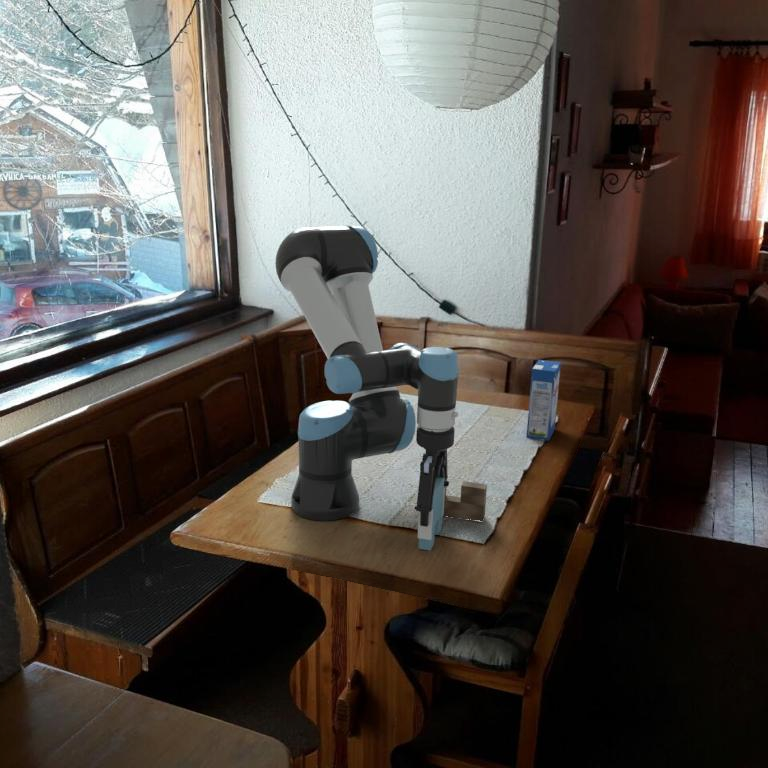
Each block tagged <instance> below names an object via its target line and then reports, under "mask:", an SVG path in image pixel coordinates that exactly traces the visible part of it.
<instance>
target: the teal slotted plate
mask: <svg viewBox="0 0 768 768" xmlns="http://www.w3.org/2000/svg"><path fill="white" fill-rule="evenodd" d="M443 493H444V478H441V477H438V478H436V484H435V490H434V496H433V503H432V509H433V520H432V539H431V540H426V539H420V538H418V549H419V550H423V551H425V550H426V551H432V548H433V546H434V544H435V535H436V536H439V535H440V532H441V530H442V528H443V527H442V524H443V517H442V511H443Z"/></svg>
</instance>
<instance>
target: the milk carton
mask: <svg viewBox="0 0 768 768" xmlns="http://www.w3.org/2000/svg"><path fill="white" fill-rule="evenodd" d="M561 366H562V362H560V361H554V360H553V361H552V360H543V359H538V360H537V361H536V363H535V364H534V366H533V367H532V368H531V379H530V392H529V402H528V415H527V426H526V438H528V439H533V438H536V439H535V440H540V439H544V440H543V441H548V442H549V441H550V439H551V437H552V435H553V433H554V431H555V430H556V418H557V409H558V408H557V407H558V400H559V387H560V378H561Z"/></svg>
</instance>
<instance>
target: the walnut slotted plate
mask: <svg viewBox="0 0 768 768" xmlns="http://www.w3.org/2000/svg"><path fill="white" fill-rule="evenodd" d="M446 481H448V479H447V480H446ZM444 487H445V496H444V514H443V516H448V517H447V518H449V517H453V518H452V519H456V518H461V519H460V520H462V519H469V520H470V519H471V520H480V521H483V519H484V520H485V518H484V517H486V502H487V491H488V484H486V483H480V482H473V481H465V480H463V482H462V483H461V486H460V487H461V488H460V497H459V496H453V495H447V488H448V486H444ZM483 522H484V521H483Z"/></svg>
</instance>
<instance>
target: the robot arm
mask: <svg viewBox="0 0 768 768" xmlns="http://www.w3.org/2000/svg"><path fill="white" fill-rule="evenodd" d="M378 257H379V252H378V247H377V243H376V241H375V239H374V237H373V235H372V234H371V233H370V231H369V230H368V229H366V228H364V227H362V226H359V225H358V226H357V225H350V224H349V225H347V224H345V225H340V226H338V225H337V226H335V225H334V226H317V227H315V226H314V227H310V226H308V227H306V226H305V227H300V228H298V229H295V230H294V231H293V230H292V232H290V233H289V234H287V236H285V238H284V239H283V240H282V241H281V243H280V245H279V246H278V250H277V251H276V255H275V263H274V264H275V271H276V275H277V278H278V280H279V282H280V284H281V285H282V287H283V288H284V289H285V290H286V291H287V292H290V293H291V294H292V296H293V298H294V300H295V301H296V303H297V305H298V307H299V309H300V310H301V312H302V314H303V317H304V318H305V320H306V322H307V324H308V325H309V327H310V329H311V331H312V333H313V334H314V336H315V338H316V339H317V342H318V344H319V345H320V347H321V349H322V351H323V353H324V354H325V356H326V358H327V359H326V361H325V364H324V378H325V379H326V385H327V387H328V389H329V390H330V391H331V392H333V393H334V394H337V395H341V394H344V395H345V394H352V395H351V397H350V398H349V399H348V402H347V401H344V400H340V399H339V400H324V401H319V402H315V403H313V404H310V405H309V406H307V407H305V408H304V409H303V410H302V412H301V413H300V414H299V418H298V427H297V428H298V429H297V436H298V476H297V479H296V482H295V484H294V488H293V491H292V492H291V493H292V494H291V497H290V498H291V500H290V501H291V502H290V503H291V510H292V511H293V512H294V513H295V515H297V516H298V517H299V516H300V517H302V518H303V519H304V518H305V519H308V520H312V521H327V522H328V521H336V520H341V519H344V518H345V519H346V518H348V517H350V516H351V515H350V514H352V513H354V512H355V511H356V510H357V509H358V510H359V508H360V507H359V506H360V496H359V492H358V489H357V485H356V483H355V479H354V477H353V473H352V471H353V470H352V466H353V463H352V462H353V461H354V460H358V459H364V458H368V457H375V456H379V455H384V454H392V453H396V452H399V451H403V450H405V449H407V448H408V447H409V446H410V445H411V443H412V442H413V439H414V437H416V440H415V442H416V444H417V445H418V447H421V448H423V449H424V450H425V453H423V454H422V460H421V461H420V464H419V467H420V468H419V469H420V471H419V481H418V487H417V488H418V490H417V498H416V499H417V500H416V506H415V505H414V510H415V511H416V512H418V517H417V519H418V521H417V522H418V524H417V539H419V538H420V539H426V540H431V539H432V520H433V509H432V503H433V496H434V490H435V484H436V478H438V477H441V478H444V486H447V487H449V486H450V481H448V478H449V476H448V475H449V474H448V449H450V448H452V447H453V445H454V444H455V429H456V428H455V427H454V426H455V424H456V417H459V412H458V411H456V409H457V408H456V405H457V394H458V381H459V380H458V379H459V373H460V371H459V356H458V353H457V352H456V351H455V349H454V350H453V349H452V348H449V347H448V348H447V347H444V346H429V347H425V348H423V349H421V348H419V347H418V346H416V345H413V344H411V343H405V342H399V343H395V344H394V345H392V346H391V347H390V348H389V349H386V350H384V349H383V344H382V339H381V336H380V332H379V328H378V327H379V326H378V323H377V322H378V321H377V317H376V313H375V309H374V304H373V301H372V296H371V292H370V286H369V285H370V284H371V282H372V280H373V278H374V275H373V274H374V273H375V272H376V270H377V267H378V265H379V261H378ZM399 386H410V387H412V388H414V389H415V390H417V391H418V393H417V398H418V399H417V415H416V413H415V412H416V411H415V410H414V406H413V405H412V404H411V402H410V400H408V399H406V398H403V397H401V394H400V390H399V388H397V387H399ZM416 425H417V426H416ZM415 433H416V434H415ZM415 435H416V436H415ZM446 480H447V481H446ZM444 496H445V487H444V493H443V511H442V518H443V514H444ZM358 507H359V508H358ZM358 510H357V511H358ZM357 511H356V512H357ZM356 512H355V513H356ZM355 513H354V514H355ZM349 515H350V516H349ZM352 515H353V514H352Z"/></svg>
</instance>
